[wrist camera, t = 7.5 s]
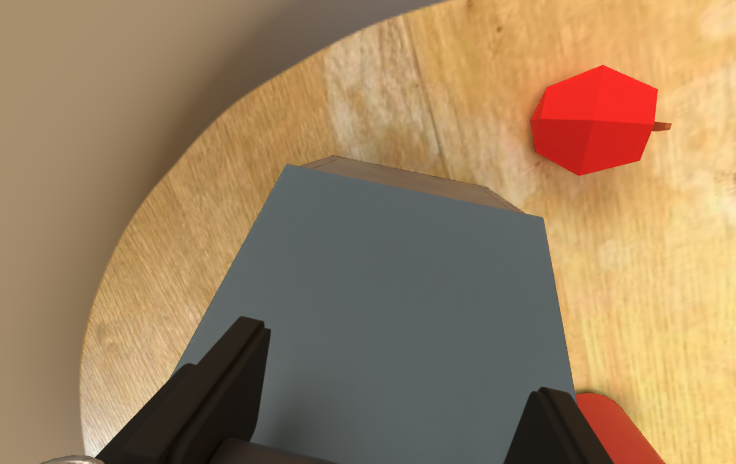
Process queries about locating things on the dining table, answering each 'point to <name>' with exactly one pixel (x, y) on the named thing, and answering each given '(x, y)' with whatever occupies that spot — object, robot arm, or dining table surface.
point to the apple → (595, 121)
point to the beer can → (616, 431)
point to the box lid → (389, 324)
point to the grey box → (411, 181)
